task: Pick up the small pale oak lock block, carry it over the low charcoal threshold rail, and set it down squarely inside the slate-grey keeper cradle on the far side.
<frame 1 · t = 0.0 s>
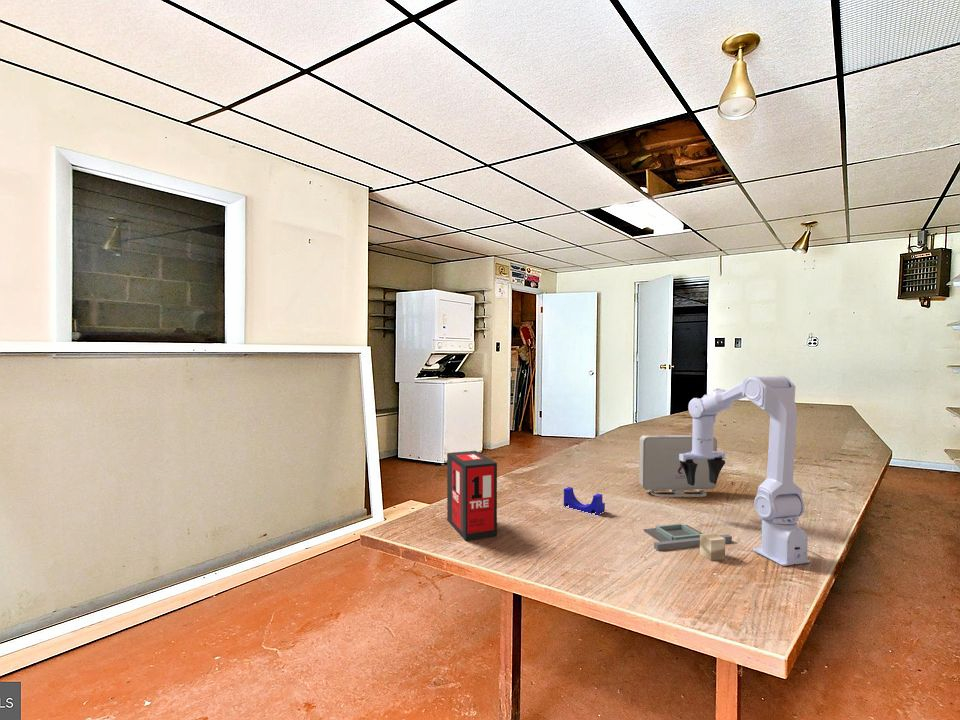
hand: (702, 483, 150), 10 cm above the table, tool pointing down, fingers open, 7 cm apart
cleaning product box: (471, 529, 141), on the table
hacksaw: (778, 511, 157), on the table
threshold rail: (693, 545, 130), on the table
keeper cradle: (677, 535, 136), on the table
network device: (676, 493, 175), on the table
blue notched block: (583, 510, 157), on the table
lock block: (712, 556, 123), on the table
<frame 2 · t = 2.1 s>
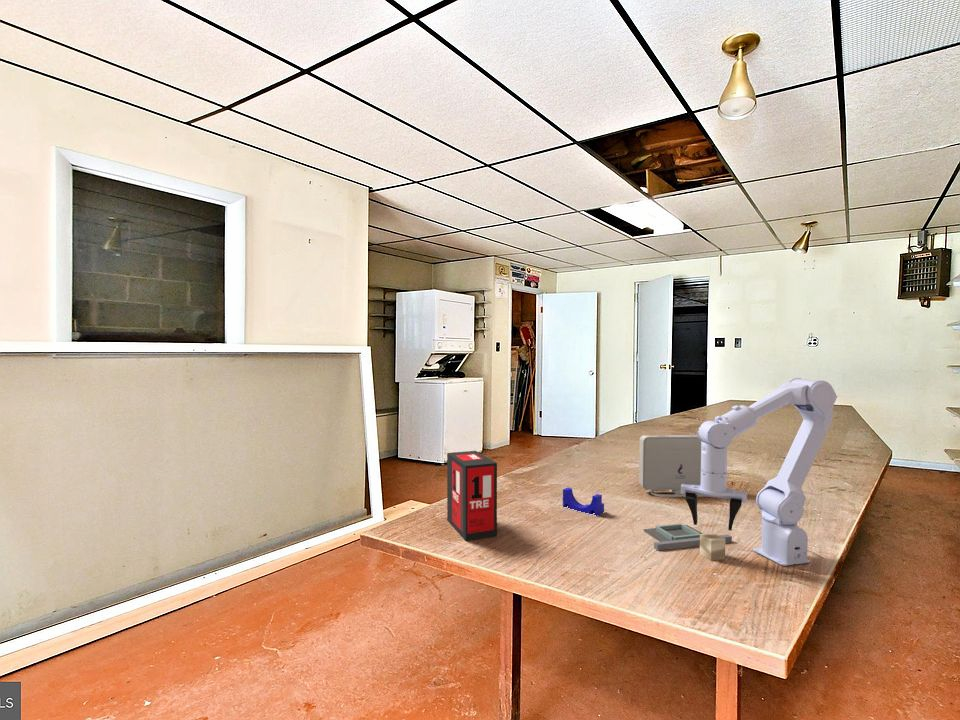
hand: (712, 526, 123), 7 cm above the table, tool pointing down, fingers open, 7 cm apart
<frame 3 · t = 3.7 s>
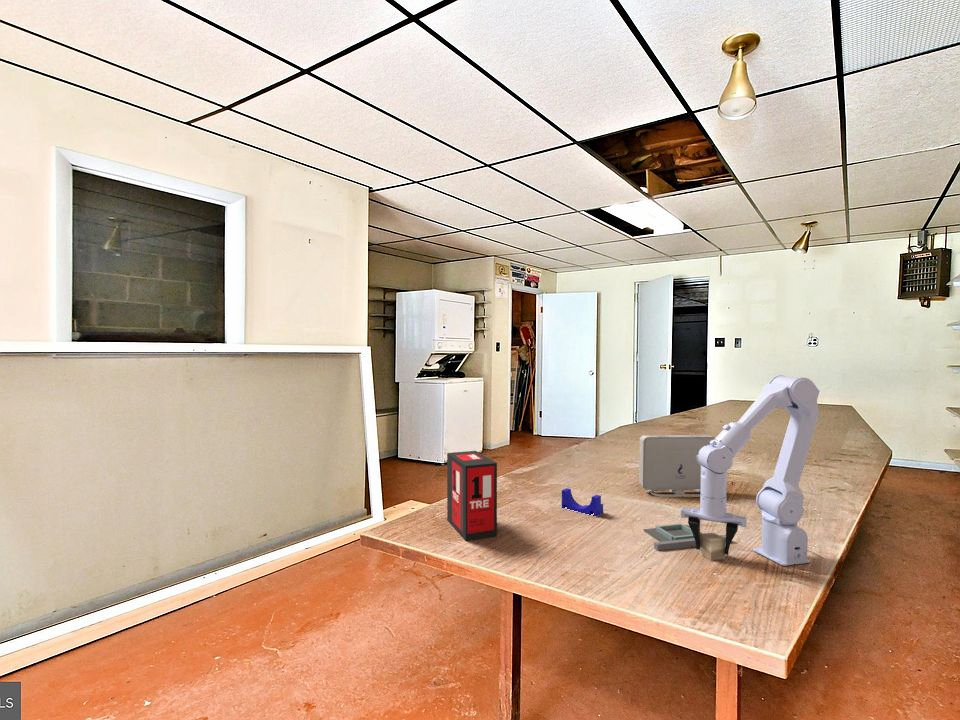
hand: (712, 550, 123), 1 cm above the table, tool pointing down, fingers closed on lock block, 6 cm apart
lock block: (712, 556, 123), on the table, touching gripper
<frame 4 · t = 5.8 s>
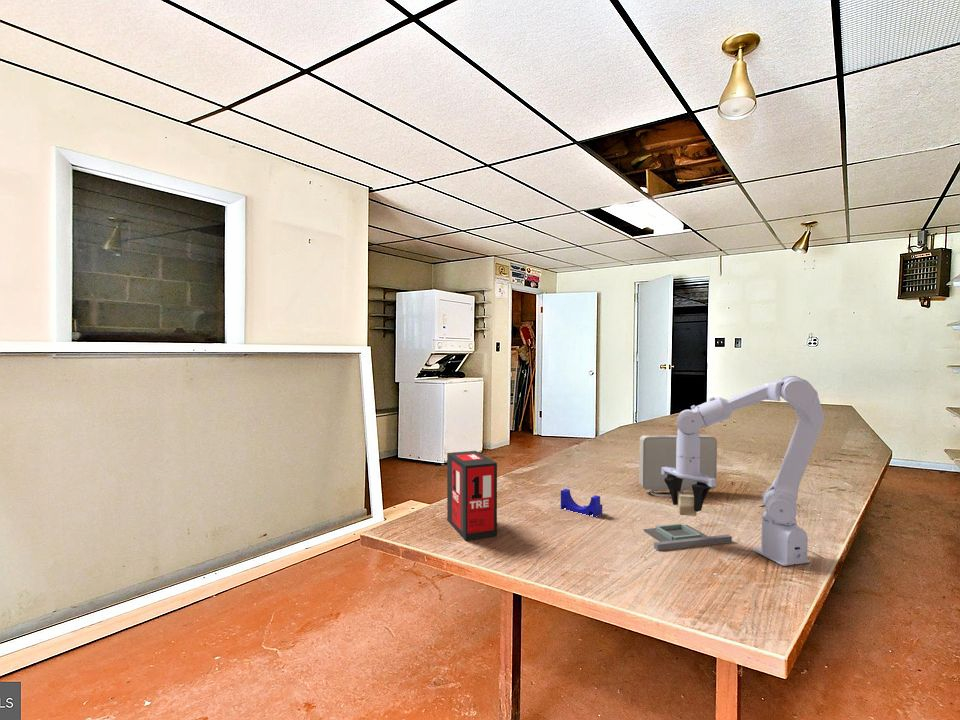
hand: (686, 507, 132), 9 cm above the table, tool pointing down, fingers closed on lock block, 6 cm apart
lock block: (686, 512, 132), point 8 cm above the table, touching gripper
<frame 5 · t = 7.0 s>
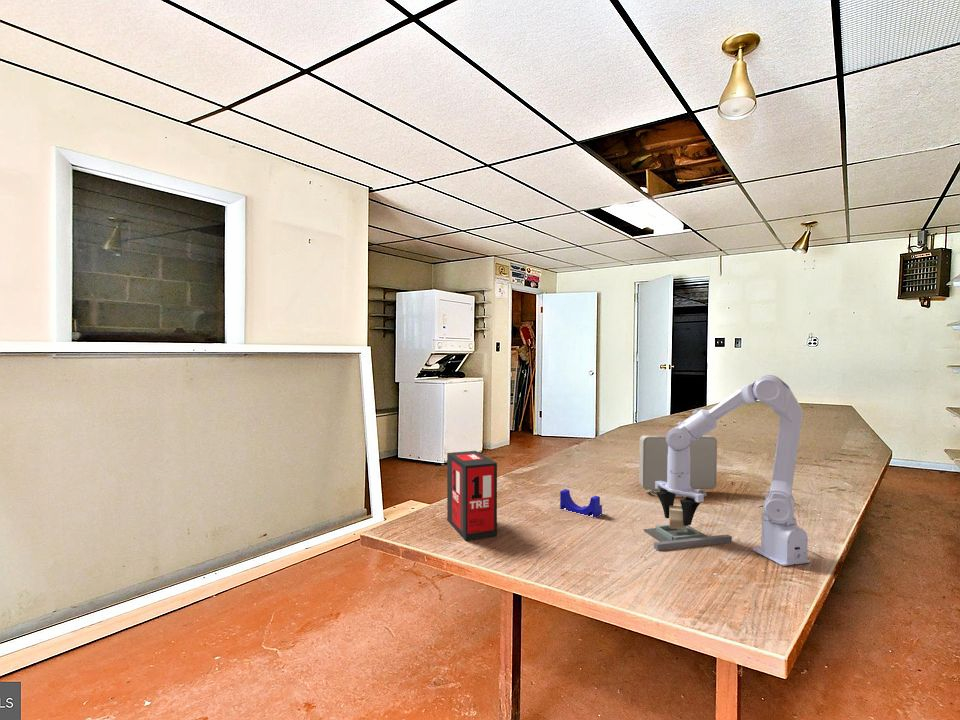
hand: (677, 521, 136), 4 cm above the table, tool pointing down, fingers closed on lock block, 6 cm apart
lock block: (677, 526, 136), point 3 cm above the table, touching gripper
when the fingers open (3 cm above the table, at t = 7.7 s): lock block drops 2 cm, resting on keeper cradle.
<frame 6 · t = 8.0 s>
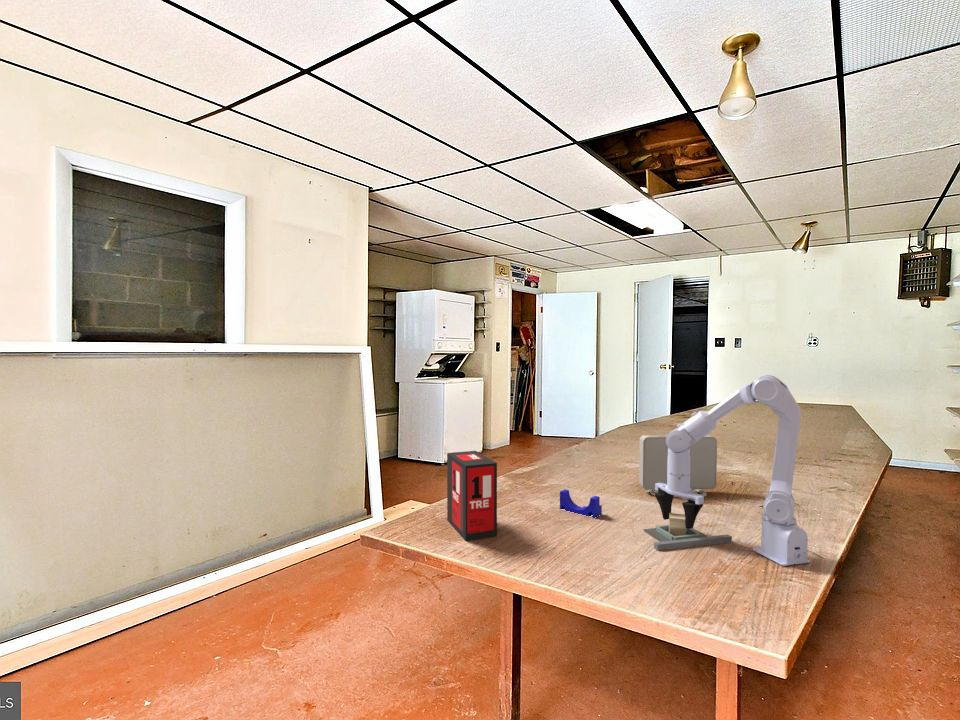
hand: (677, 523, 136), 3 cm above the table, tool pointing down, fingers open, 7 cm apart
lock block: (677, 534, 136), resting on keeper cradle
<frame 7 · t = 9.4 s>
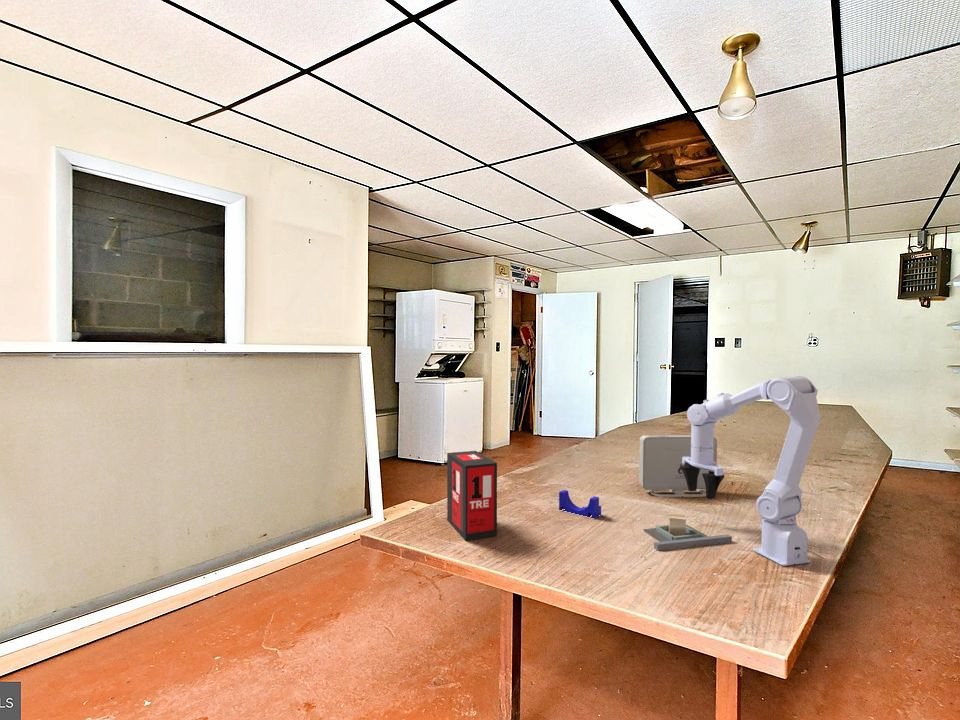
hand: (701, 494, 142), 9 cm above the table, tool pointing down, fingers open, 7 cm apart
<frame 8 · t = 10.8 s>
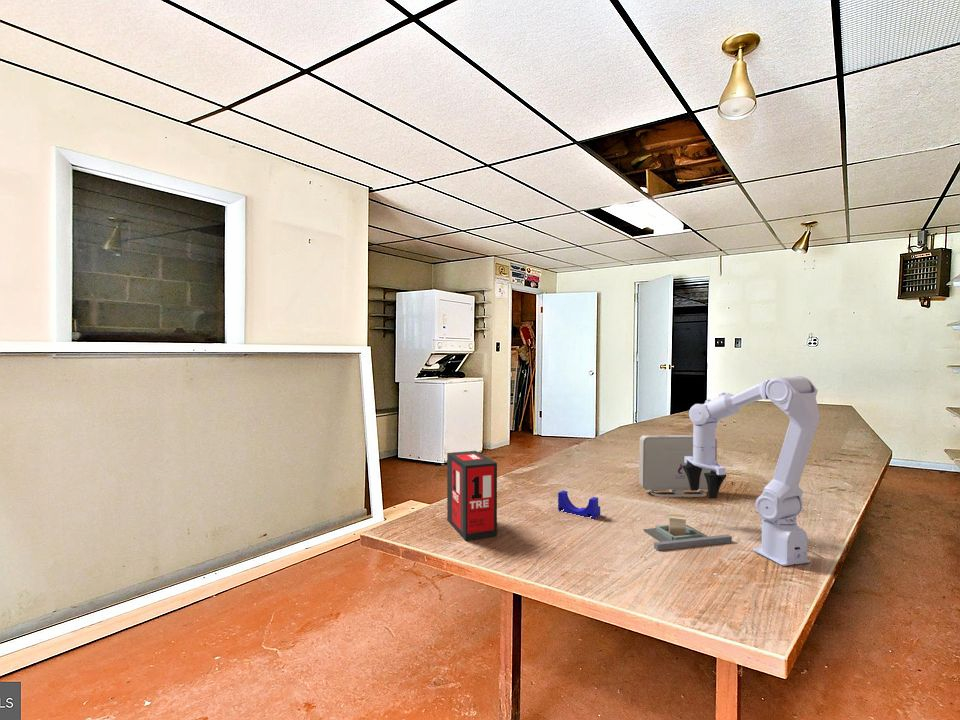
hand: (703, 494, 142), 9 cm above the table, tool pointing down, fingers open, 7 cm apart
at the end: lock block 0.2 cm off-centre on the keeper cradle, point 0.4 cm above the keeper cradle's base; the gripper is holding nothing; lock block tilted 0° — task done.
